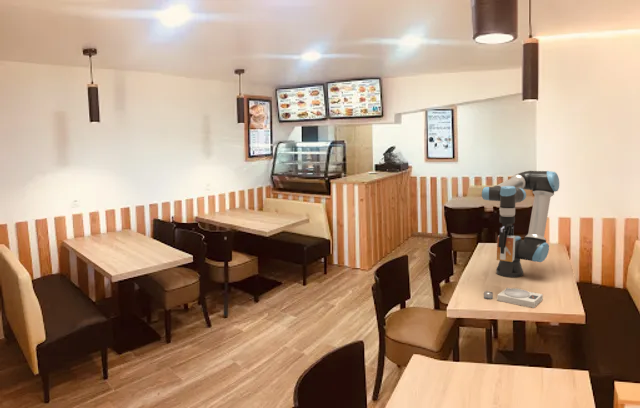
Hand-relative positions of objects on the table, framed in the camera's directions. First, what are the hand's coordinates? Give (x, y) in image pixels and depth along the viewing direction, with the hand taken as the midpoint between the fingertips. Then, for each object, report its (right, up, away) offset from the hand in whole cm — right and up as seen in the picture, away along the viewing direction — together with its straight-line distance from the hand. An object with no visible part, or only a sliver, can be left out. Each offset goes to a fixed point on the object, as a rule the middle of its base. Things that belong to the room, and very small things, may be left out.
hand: (505, 257), depth 242 cm
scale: (+4, -21, -7) cm, 23 cm away
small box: (0, -1, 0) cm, 1 cm away
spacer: (-10, -21, -3) cm, 23 cm away
